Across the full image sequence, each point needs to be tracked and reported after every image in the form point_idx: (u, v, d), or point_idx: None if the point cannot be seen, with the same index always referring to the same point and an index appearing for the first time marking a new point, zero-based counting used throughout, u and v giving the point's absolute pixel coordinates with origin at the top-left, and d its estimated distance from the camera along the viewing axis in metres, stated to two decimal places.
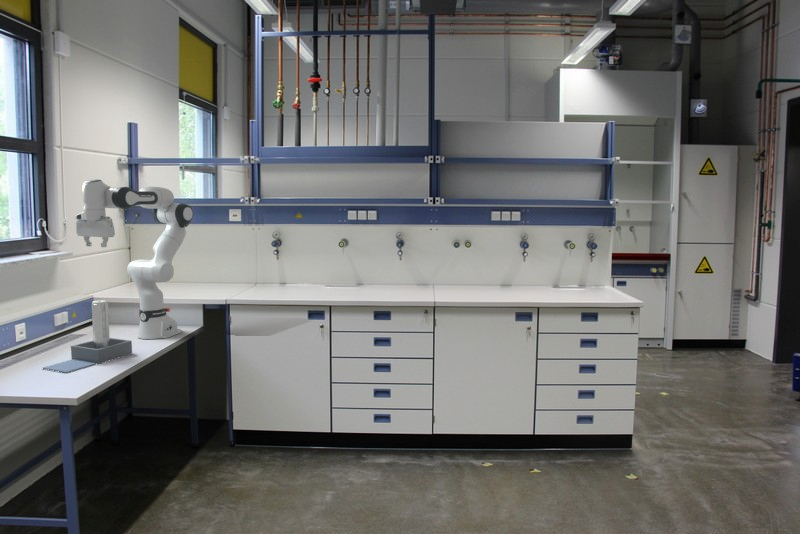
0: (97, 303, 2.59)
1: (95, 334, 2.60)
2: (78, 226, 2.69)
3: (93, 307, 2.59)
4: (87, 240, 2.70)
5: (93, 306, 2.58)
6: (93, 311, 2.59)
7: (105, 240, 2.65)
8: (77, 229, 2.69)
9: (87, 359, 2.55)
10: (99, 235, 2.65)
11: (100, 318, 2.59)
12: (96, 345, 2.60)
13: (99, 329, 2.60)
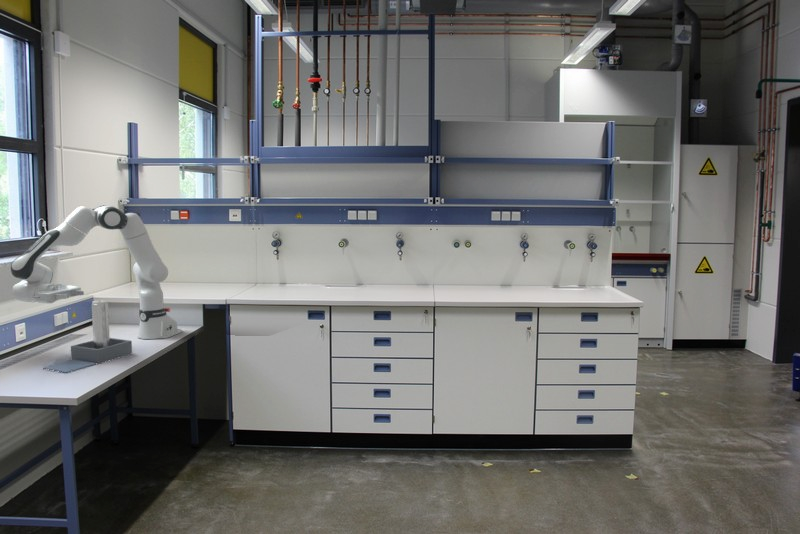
0: (97, 303, 2.59)
1: (95, 334, 2.60)
2: None
3: (93, 307, 2.59)
4: None
5: (93, 306, 2.58)
6: (93, 311, 2.59)
7: (58, 297, 2.58)
8: None
9: (87, 359, 2.55)
10: (57, 299, 2.60)
11: (100, 318, 2.59)
12: (96, 345, 2.60)
13: (99, 329, 2.60)
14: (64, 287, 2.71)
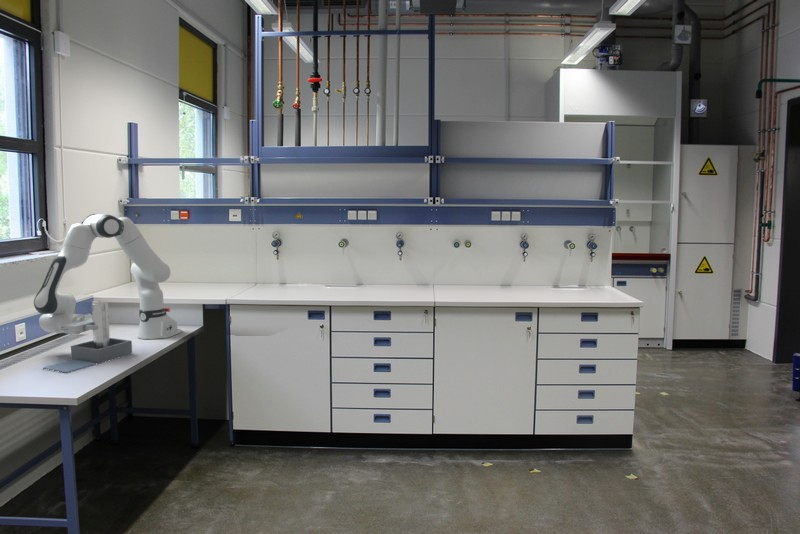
0: (97, 303, 2.59)
1: (95, 334, 2.60)
2: None
3: (93, 307, 2.59)
4: None
5: (93, 306, 2.58)
6: (93, 311, 2.59)
7: (88, 328, 2.58)
8: None
9: (87, 359, 2.55)
10: None
11: (100, 318, 2.59)
12: (96, 345, 2.60)
13: (99, 329, 2.60)
14: (91, 317, 2.70)
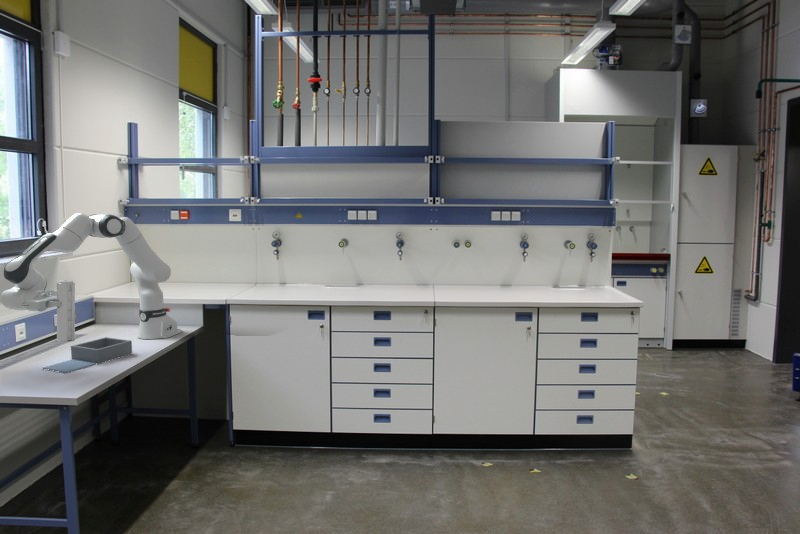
0: (63, 282, 2.42)
1: (59, 315, 2.42)
2: None
3: (58, 286, 2.41)
4: None
5: (58, 285, 2.41)
6: (58, 291, 2.42)
7: (52, 305, 2.41)
8: None
9: (87, 359, 2.55)
10: (48, 307, 2.42)
11: (65, 298, 2.42)
12: (59, 327, 2.43)
13: (64, 310, 2.42)
14: (56, 294, 2.53)
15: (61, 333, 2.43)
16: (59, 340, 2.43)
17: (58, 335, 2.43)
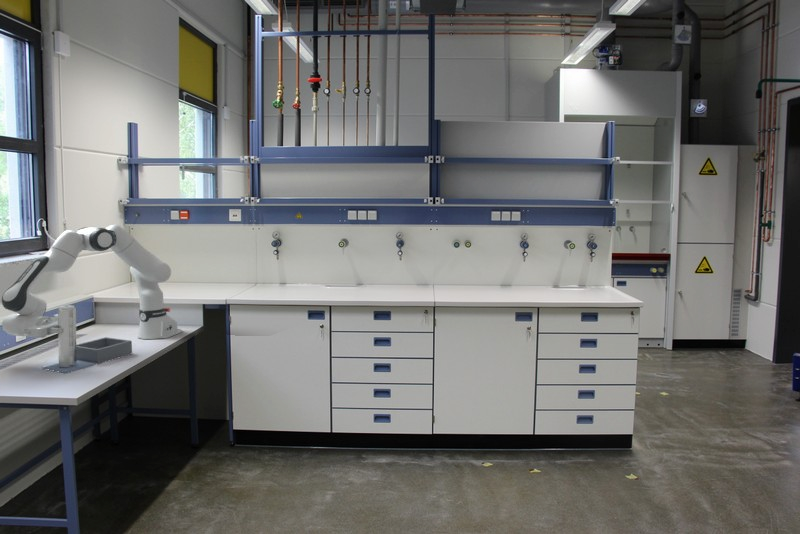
0: (64, 308, 2.43)
1: (61, 341, 2.43)
2: None
3: (60, 312, 2.42)
4: None
5: (60, 311, 2.42)
6: (59, 317, 2.43)
7: (53, 331, 2.42)
8: None
9: (87, 359, 2.55)
10: (49, 334, 2.43)
11: (67, 324, 2.43)
12: (61, 353, 2.44)
13: (65, 336, 2.43)
14: (57, 319, 2.54)
15: (62, 359, 2.44)
16: (60, 366, 2.44)
17: (60, 360, 2.44)
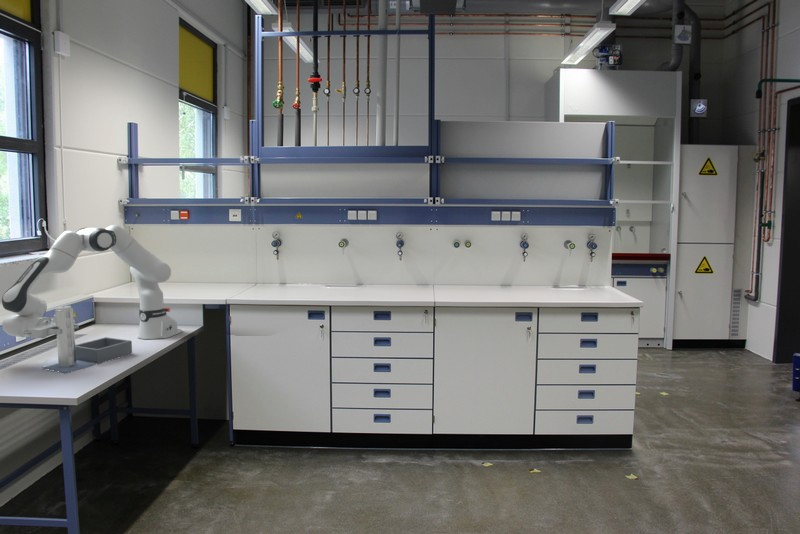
0: (61, 309, 2.42)
1: (59, 342, 2.43)
2: None
3: (57, 313, 2.42)
4: None
5: (57, 312, 2.42)
6: (57, 317, 2.42)
7: (51, 333, 2.41)
8: None
9: (87, 359, 2.55)
10: None
11: (64, 325, 2.43)
12: (60, 354, 2.44)
13: (63, 337, 2.43)
14: None
15: (62, 359, 2.44)
16: (60, 366, 2.44)
17: (59, 361, 2.44)
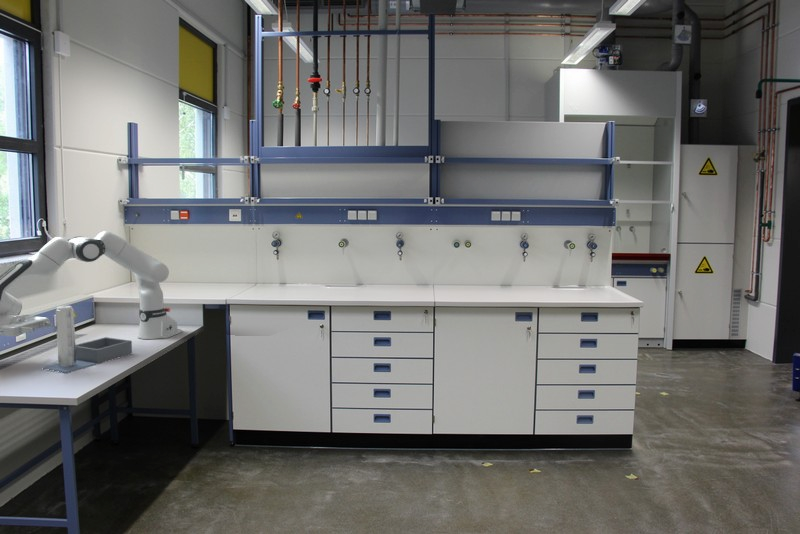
0: (62, 309, 2.42)
1: (60, 341, 2.43)
2: None
3: (57, 313, 2.42)
4: None
5: (57, 312, 2.42)
6: (57, 317, 2.42)
7: (23, 331, 2.43)
8: None
9: (87, 359, 2.55)
10: (22, 333, 2.45)
11: (65, 325, 2.43)
12: (61, 354, 2.44)
13: (64, 337, 2.43)
14: (31, 318, 2.56)
15: (62, 360, 2.44)
16: (60, 366, 2.44)
17: (60, 361, 2.44)
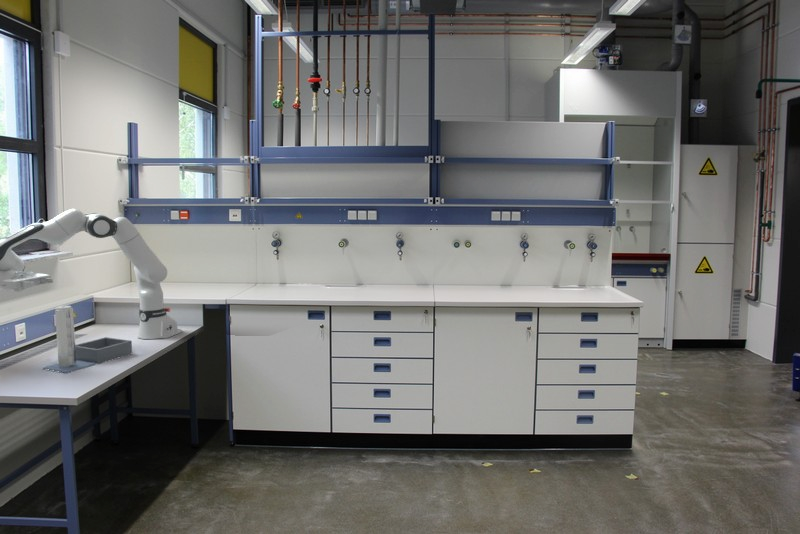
0: (61, 309, 2.42)
1: (59, 341, 2.43)
2: None
3: (57, 313, 2.42)
4: None
5: (57, 312, 2.42)
6: (57, 317, 2.42)
7: (25, 285, 2.48)
8: None
9: (87, 359, 2.55)
10: (24, 287, 2.51)
11: (64, 325, 2.43)
12: (60, 354, 2.44)
13: (63, 336, 2.43)
14: (33, 275, 2.61)
15: (62, 359, 2.44)
16: (60, 366, 2.44)
17: (59, 361, 2.44)
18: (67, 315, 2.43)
